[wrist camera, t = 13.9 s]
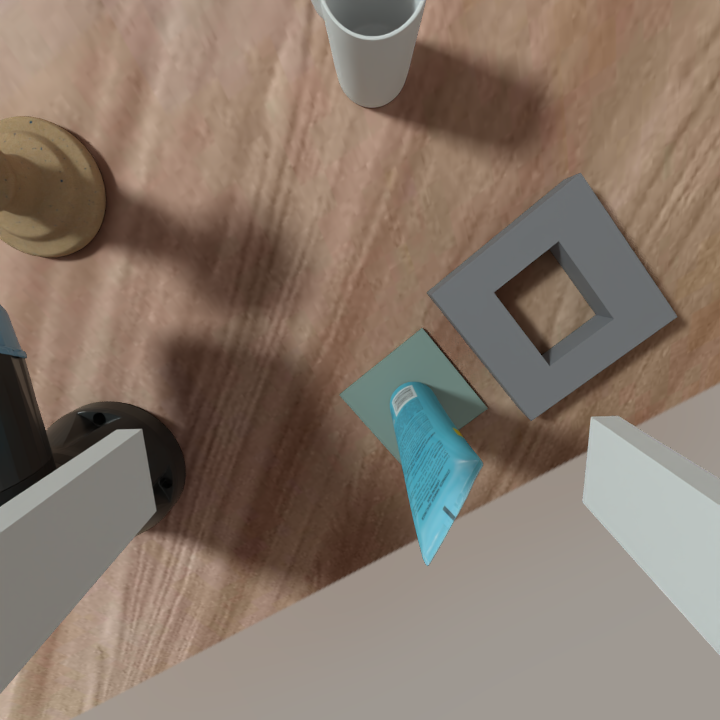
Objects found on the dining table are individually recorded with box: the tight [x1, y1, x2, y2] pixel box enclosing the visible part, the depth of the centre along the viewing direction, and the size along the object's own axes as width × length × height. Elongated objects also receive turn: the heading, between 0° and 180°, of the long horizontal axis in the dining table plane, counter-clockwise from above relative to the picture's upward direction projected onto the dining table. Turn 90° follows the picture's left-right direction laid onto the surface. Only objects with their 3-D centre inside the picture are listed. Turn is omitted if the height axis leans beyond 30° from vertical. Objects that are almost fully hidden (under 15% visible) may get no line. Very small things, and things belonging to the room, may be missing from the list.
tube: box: [390, 382, 483, 566], centre depth 33 cm, size 7×5×19 cm, turn 162°
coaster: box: [340, 328, 488, 465], centre depth 42 cm, size 11×11×1 cm
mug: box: [311, 0, 426, 108], centre depth 29 cm, size 10×7×12 cm, turn 52°
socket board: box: [427, 173, 677, 421], centre depth 38 cm, size 16×16×3 cm
